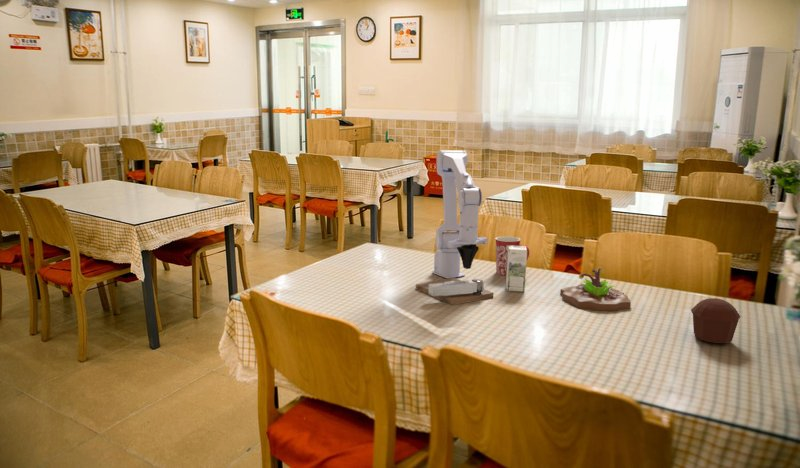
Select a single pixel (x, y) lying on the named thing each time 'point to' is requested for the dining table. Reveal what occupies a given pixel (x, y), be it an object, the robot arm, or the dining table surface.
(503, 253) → the mug
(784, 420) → the dining table surface
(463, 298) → the label board
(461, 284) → the swing bar
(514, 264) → the syrup box
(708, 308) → the muffin
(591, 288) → the plant
